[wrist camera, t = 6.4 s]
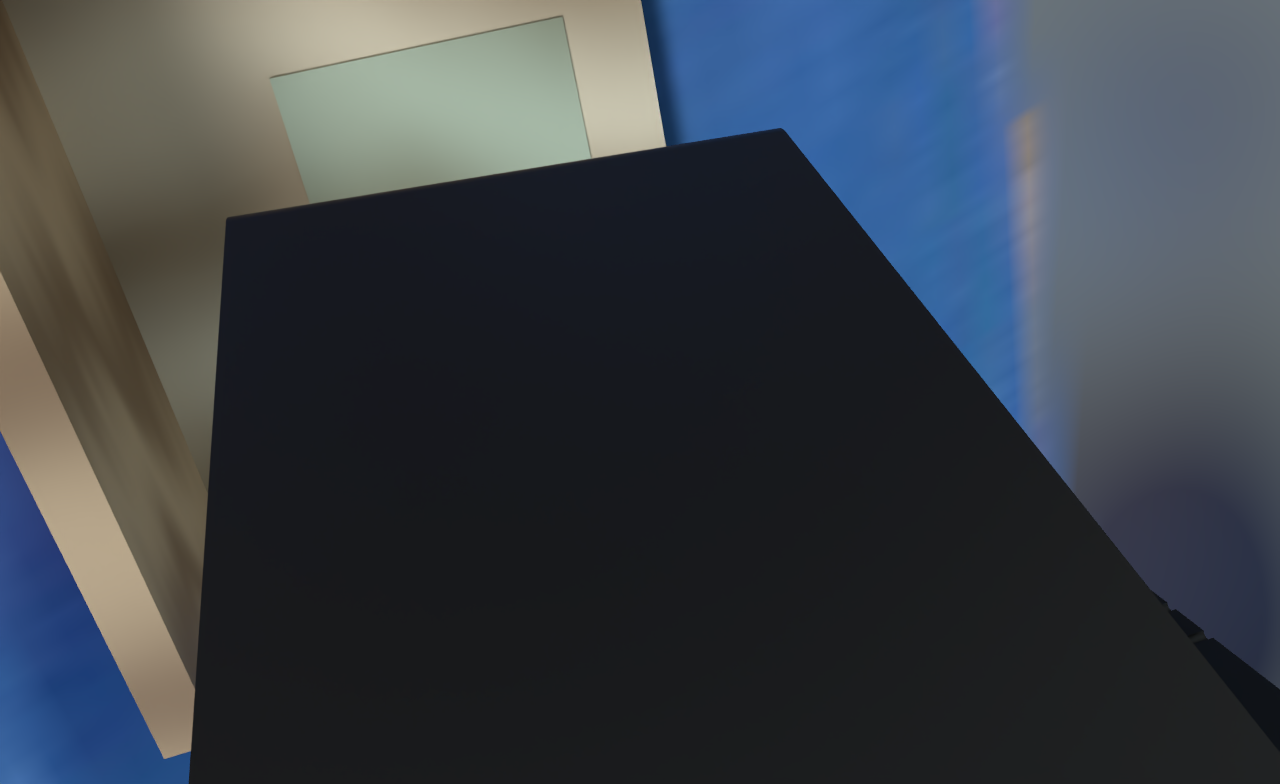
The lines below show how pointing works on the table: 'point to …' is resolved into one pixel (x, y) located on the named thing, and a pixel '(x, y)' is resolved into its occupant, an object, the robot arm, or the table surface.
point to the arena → (195, 230)
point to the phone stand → (650, 508)
